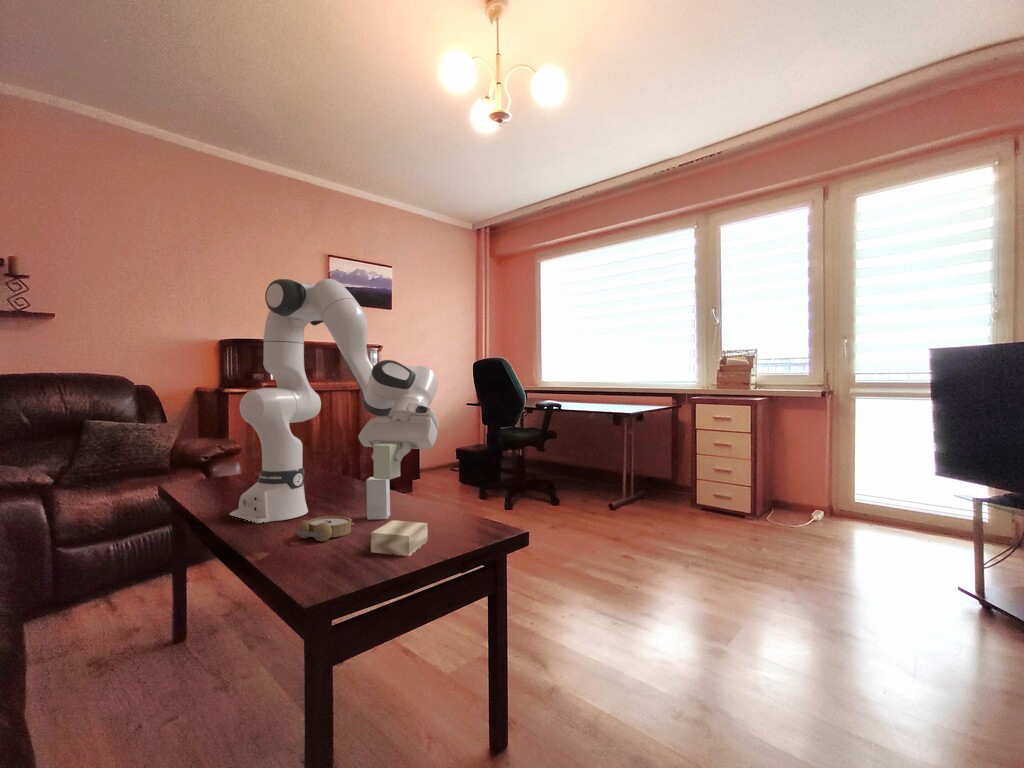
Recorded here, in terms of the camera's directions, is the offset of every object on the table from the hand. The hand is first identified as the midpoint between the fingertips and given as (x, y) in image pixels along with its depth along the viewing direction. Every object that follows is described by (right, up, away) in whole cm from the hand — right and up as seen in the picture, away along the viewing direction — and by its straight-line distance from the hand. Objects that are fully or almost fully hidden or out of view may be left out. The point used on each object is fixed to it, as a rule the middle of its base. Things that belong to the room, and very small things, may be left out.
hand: (385, 459), depth 108 cm
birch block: (+3, -22, +2) cm, 23 cm away
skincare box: (-10, -22, +26) cm, 36 cm away
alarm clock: (-20, -22, +11) cm, 32 cm away
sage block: (0, -4, +1) cm, 4 cm away
